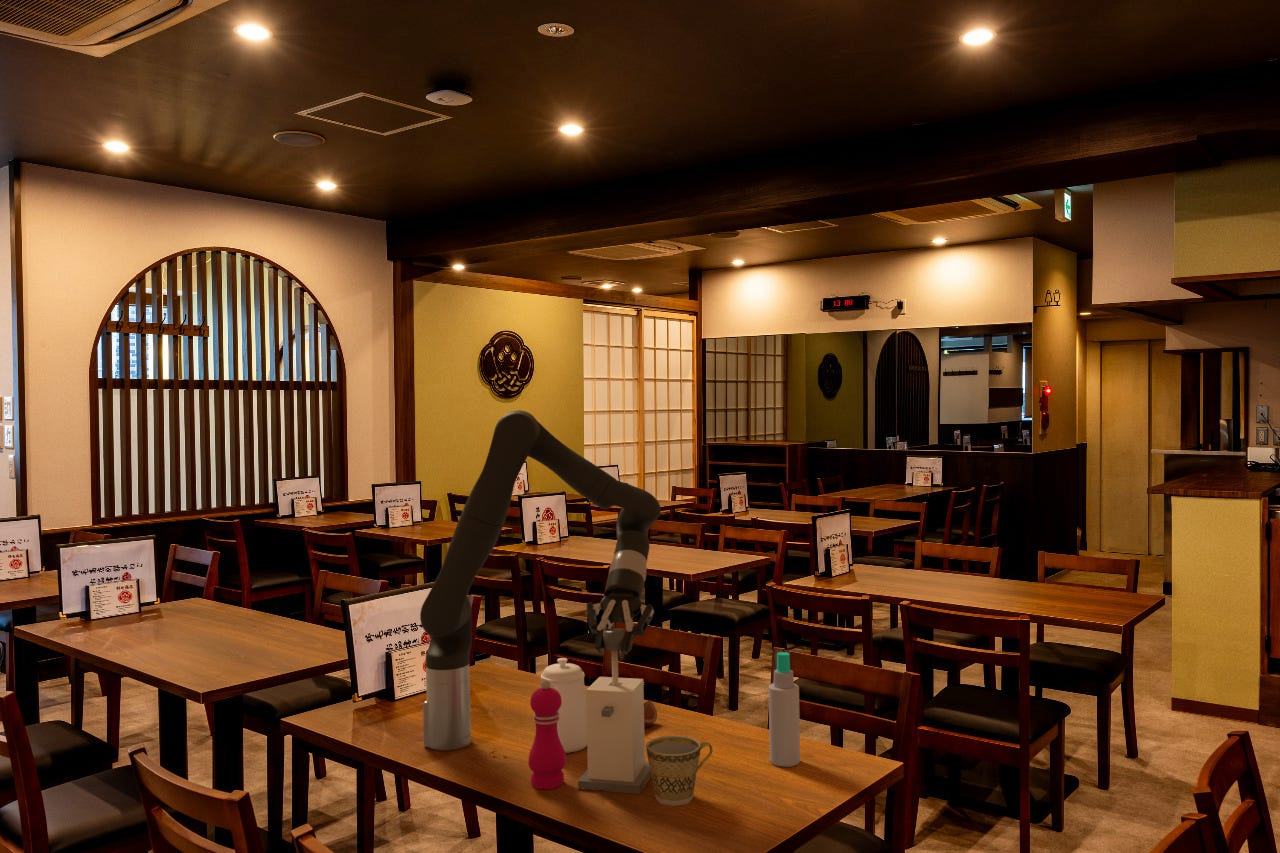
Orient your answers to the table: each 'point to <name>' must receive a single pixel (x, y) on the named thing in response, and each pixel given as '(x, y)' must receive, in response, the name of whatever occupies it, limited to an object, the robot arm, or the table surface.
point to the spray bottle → (784, 715)
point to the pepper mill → (546, 739)
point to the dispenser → (615, 737)
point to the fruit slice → (649, 713)
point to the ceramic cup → (674, 767)
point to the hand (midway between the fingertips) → (612, 651)
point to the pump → (613, 648)
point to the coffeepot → (569, 703)
